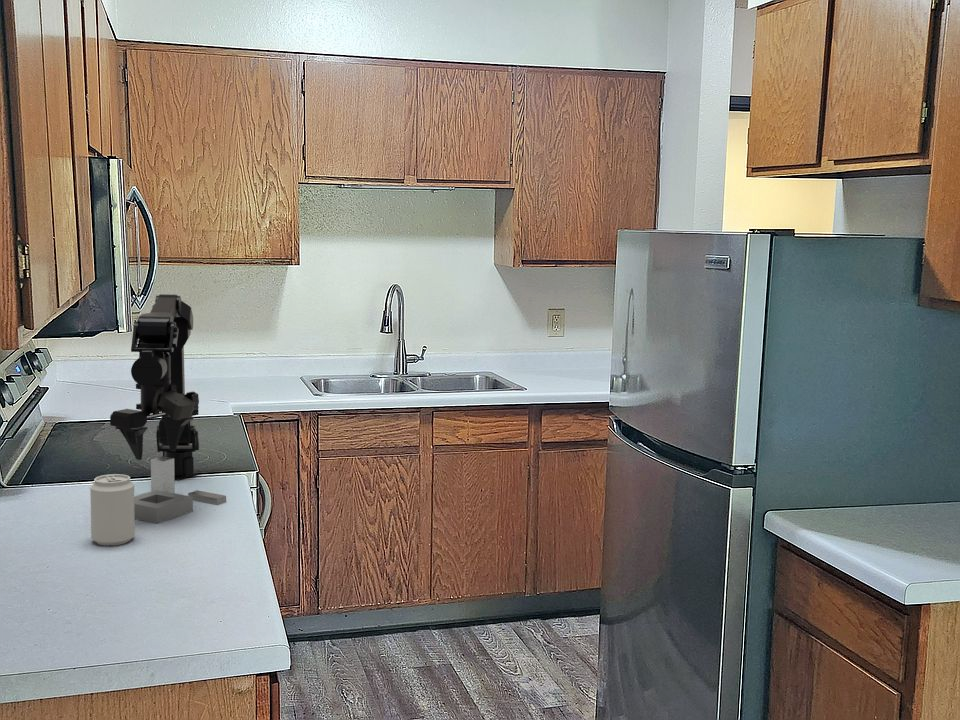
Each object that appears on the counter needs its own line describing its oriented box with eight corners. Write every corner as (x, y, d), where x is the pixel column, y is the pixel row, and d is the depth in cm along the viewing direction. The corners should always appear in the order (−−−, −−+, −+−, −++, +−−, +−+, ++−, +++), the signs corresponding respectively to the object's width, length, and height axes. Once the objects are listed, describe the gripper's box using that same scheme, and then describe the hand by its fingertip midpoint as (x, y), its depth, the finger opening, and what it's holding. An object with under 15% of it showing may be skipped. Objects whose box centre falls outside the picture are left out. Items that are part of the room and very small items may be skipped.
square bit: (151, 495, 208) (150, 459, 207) (162, 492, 211) (162, 456, 210) (163, 497, 207) (162, 461, 206) (174, 494, 210) (174, 458, 209)
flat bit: (188, 501, 206) (188, 493, 206) (197, 498, 208) (197, 490, 208) (217, 507, 202) (217, 498, 202) (226, 503, 205) (226, 495, 205)
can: (99, 549, 172) (98, 484, 171) (85, 538, 178) (84, 475, 176) (140, 542, 177) (140, 478, 175) (126, 532, 183) (125, 470, 181)
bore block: (119, 515, 193) (119, 500, 192) (156, 503, 202) (156, 490, 201) (157, 523, 188) (157, 508, 188) (193, 511, 197) (193, 496, 197)
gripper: (151, 388, 180) (151, 470, 182) (219, 377, 197) (219, 452, 198) (107, 382, 185) (108, 462, 187) (177, 372, 201) (177, 445, 203)
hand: (156, 455), depth 194 cm, fingers open, 9 cm apart
